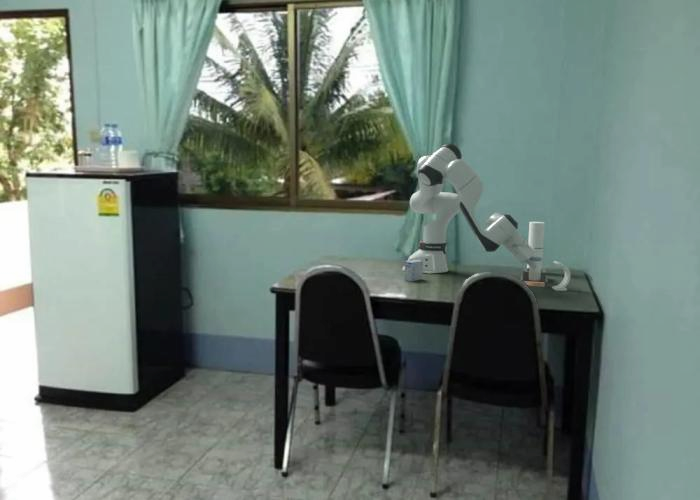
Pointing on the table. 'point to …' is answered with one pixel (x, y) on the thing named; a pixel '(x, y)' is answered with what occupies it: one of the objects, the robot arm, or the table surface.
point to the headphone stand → (565, 281)
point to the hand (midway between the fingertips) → (536, 266)
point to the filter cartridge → (535, 273)
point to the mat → (535, 284)
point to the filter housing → (526, 278)
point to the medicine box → (413, 270)
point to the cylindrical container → (536, 239)
